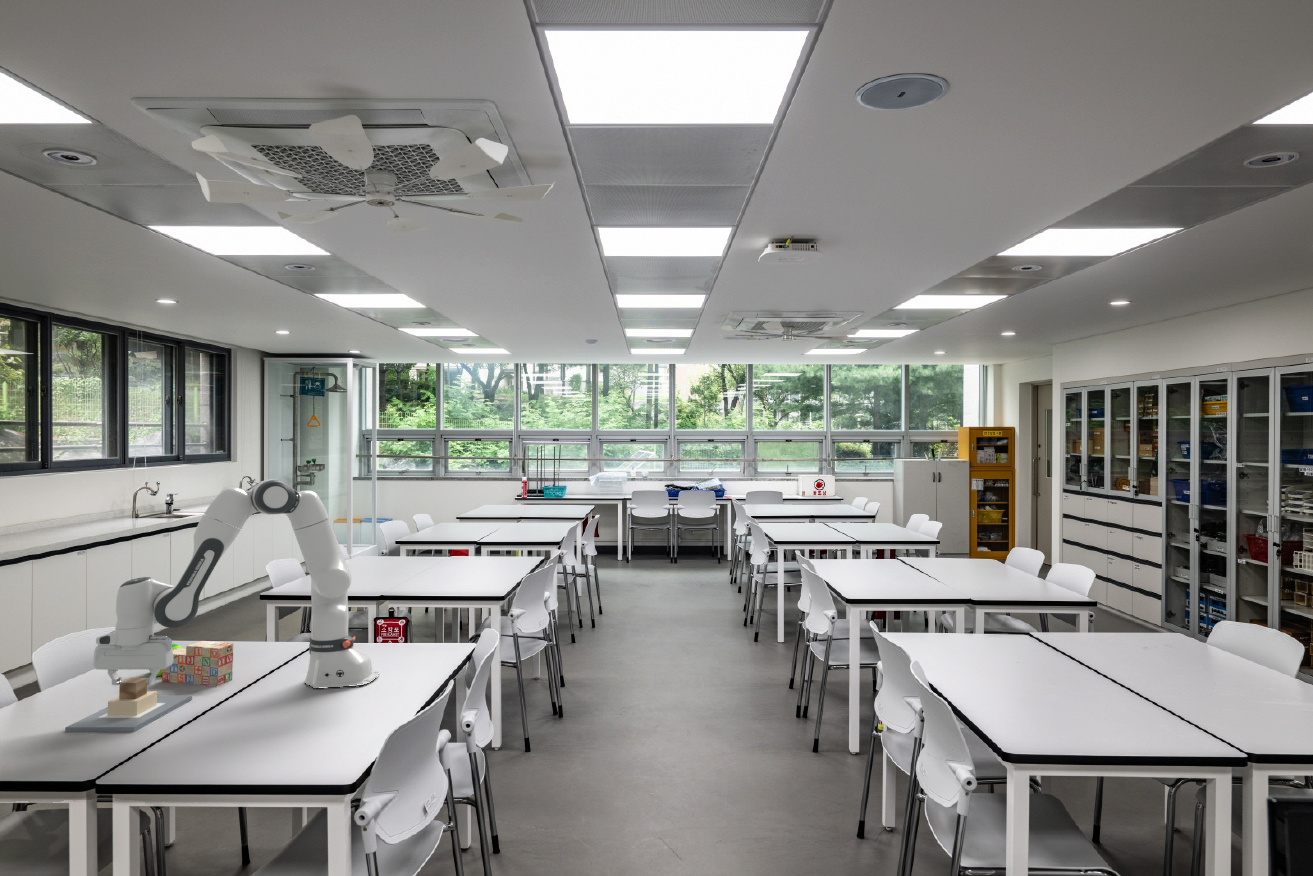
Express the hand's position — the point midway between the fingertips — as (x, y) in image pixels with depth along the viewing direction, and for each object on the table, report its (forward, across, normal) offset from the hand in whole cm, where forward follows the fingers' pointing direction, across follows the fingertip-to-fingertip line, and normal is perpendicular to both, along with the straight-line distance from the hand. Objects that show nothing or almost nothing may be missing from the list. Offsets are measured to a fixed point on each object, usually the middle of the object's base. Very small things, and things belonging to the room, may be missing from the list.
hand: (133, 684), depth 195 cm
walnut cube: (+3, 0, 0) cm, 3 cm away
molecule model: (+9, +16, -38) cm, 42 cm away
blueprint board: (+9, 0, 0) cm, 9 cm away
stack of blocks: (+9, 0, -29) cm, 31 cm away
